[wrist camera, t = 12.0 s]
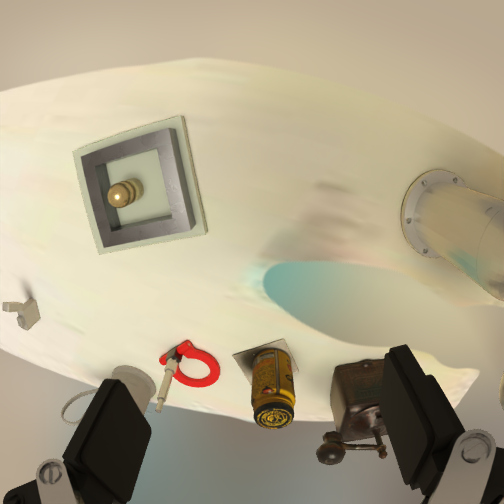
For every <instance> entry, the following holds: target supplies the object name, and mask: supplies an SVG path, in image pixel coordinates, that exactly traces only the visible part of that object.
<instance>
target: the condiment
mask: <svg viewBox="0 0 504 504" xmlns="http://www.w3.org/2000/svg"><path fill="white" fill-rule="evenodd" d="M232 356H233V357H234V359H235V360H236V362H237V363H238V365H239V367H240V368H241V370H242V371H243V373H244V375H245V376H246V378H247V380H248V381H249V383H250V385H252V396H251V404H252V407H253V411H254V420H255V422H256V423H257V424H258V425H259V426H261V427H264V428H268V429H278V428H282V427H285V426H287V425H288V424H290V423H291V422H292V420H293V418H294V410H293V409H294V405H295V392H294V382H293V374H292V373H293V372H297V371H299V370H298V368H297V366H296V364H295V361H294V359H293V357H292V355H291V353H290V351H289V349H288V347H287V345H286V343H285V340H284V339H282V340H279V341H276V342H272V343H270V344H266V345H263V346H260V347H257V348H255V349H252V350H248V351H245V352H242V353H239V354H236V355H232Z"/></svg>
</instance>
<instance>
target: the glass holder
mask: <svg viewBox="0 0 504 504" xmlns="http://www.w3.org/2000/svg"><path fill="white" fill-rule="evenodd" d="M112 379H119V380H121V382H122V383H124V384H125V385H126V387H127V388H128V390H129V392H130V394H131V395H132V397H133V399H134V401H135V402H136V404H137V406H138V407H139V409H140V411H141V412H142V414H143V415H144V414H145V411H146V409H147V406H148V403H149V401H150V398H151V397H153V396H154V394H155V392H156V387H155V384H154V382H153V380H152V379H151V378H150V377H149V376H148V375H147V374H146V373H144V372H143V371H141V370H140V369H137V368H135V367H132V366H119V367H117V368H115V369H114V371H113V373H112ZM98 389H99V388H98ZM98 389H94V390H90V391H86V392H83V393H80V394H78V395H76V396H75V397H73V398H72V399H70V400H69V401H68V402H67V403H66V405H65V406H64V407H63V409H62V412H61V417H62V419H63V421H64V422H65V423H66V424H68V425H72V426H75V425H79V423H80V422H81V420H82V418H83V417H82V418H81V419H80V420H78V421H76V422H68V421H66V420H65V419H64V418H63V414H64V412H65V410H66V409H67V407H68V406H69V405H70V404H71V403H72V402H74V401H75V400H76V399H78V398H80V397H82V396H85V395H88V394H92V393H97V391H98ZM84 414H85V413H84ZM83 416H84V415H83Z"/></svg>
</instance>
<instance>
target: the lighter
mask: <svg viewBox="0 0 504 504" xmlns="http://www.w3.org/2000/svg"><path fill="white" fill-rule="evenodd" d="M3 311H6V312H18V317H17V321H18V325H19V326H20V327H21V328H23V329H25V330H29V329H30V328H31V327H32V326H33V325H34V324H35V323H36V322H37V321H38V320H39V319H40V314H39V310H38V306H37V302H36V300H35V299H31V298H30V299H29V300H28V301H26V302H25V303H24V304H23V303H19V302H3Z"/></svg>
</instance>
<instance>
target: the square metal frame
mask: <svg viewBox="0 0 504 504" xmlns="http://www.w3.org/2000/svg"><path fill="white" fill-rule="evenodd" d="M154 149H157V152H158V157H159V161H160V166H161V171H162V175H163V180H164V184H165V189H166V193H167V197H168V202H169V206H170V210H171V215H166V216H162V217H157V218H152V219H148V220H143V221H139V222H134V223H130V224H126V225H121V224H120V220H119V216H118V212H117V209H116V208H115V207H113V206H112V205H111V204H110V203H109V201H108V191H109V189H110V187H111V184H110V180H109V176H108V171H107V166H106V164H108V163H111V162H114V161H117V160H120V159H124V158H127V157H130V156H133V155H137V154H140V153H144V152H147V151H151V150H154ZM81 162H82V166H83V171H84V176H85V180H86V184H87V189H88V193H89V197H90V201H91V205H92V209H93V212H94V216H95V220H96V223H97V227H98V230H99V234H100V237H101V240H102V244H103V247H104V248H106V247H111V246H116V245H121V244H126V243H130V242H135V241H140V240H145V239H150V238H156V237H161V236H166V235H171V234H176V233H182V232H187V231H191V230H192V229H193V227H194V226H195V225H196V221H195V217H194V212H193V208H192V204H191V199H190V195H189V190H188V186H187V181H186V176H185V172H184V167H183V162H182V157H181V153H180V148H179V143H178V138H177V133H176V129H173V128H166V129H162V130H159V131H155V132H152V133H148V134H145V135H142V136H138V137H135V138H132V139H129V140H126V141H123V142H120V143H117V144H114V145H111V146H108V147H105V148H102V149H99V150H97V151H94V152H91V153H88V154H86V155H83V156H81Z"/></svg>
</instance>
